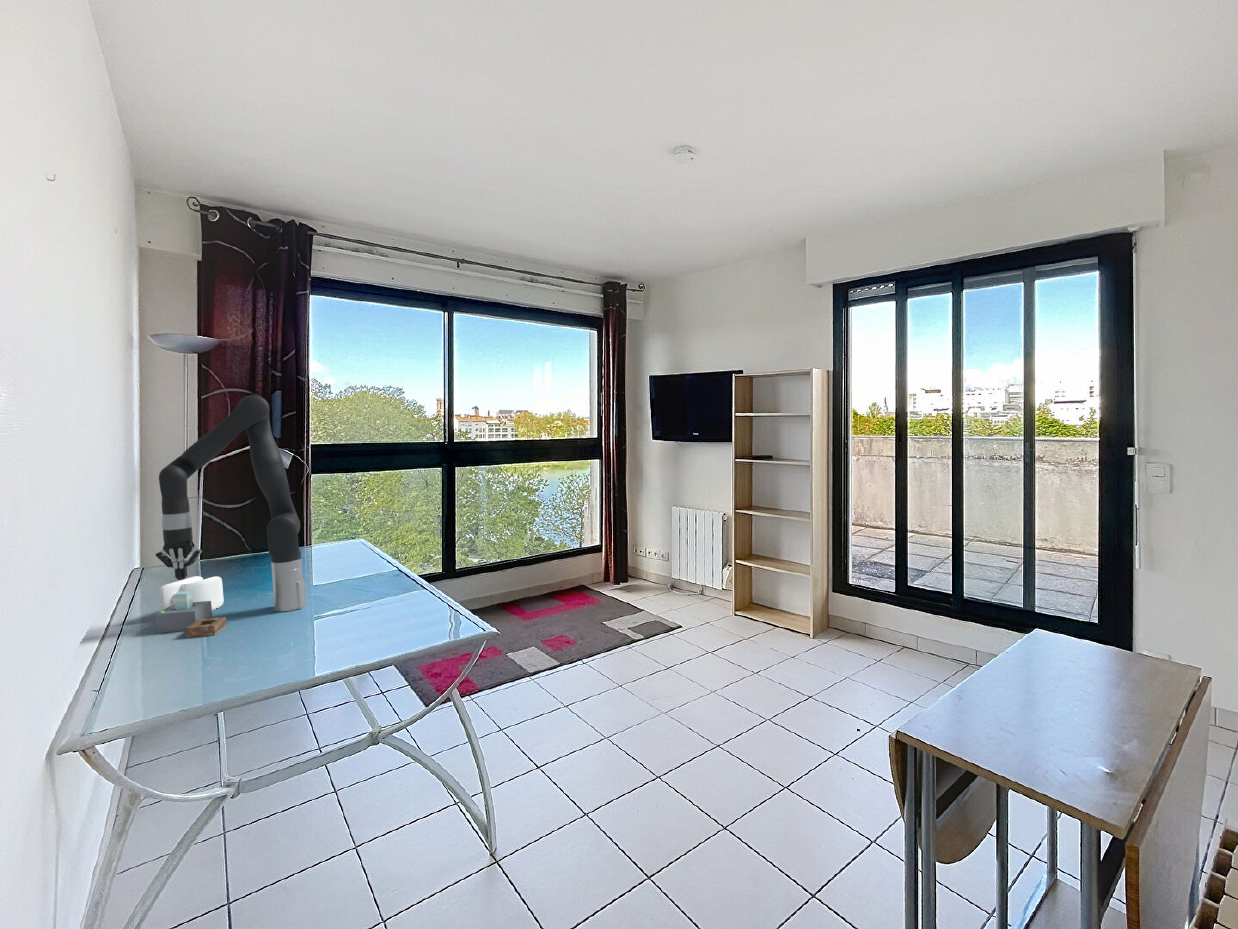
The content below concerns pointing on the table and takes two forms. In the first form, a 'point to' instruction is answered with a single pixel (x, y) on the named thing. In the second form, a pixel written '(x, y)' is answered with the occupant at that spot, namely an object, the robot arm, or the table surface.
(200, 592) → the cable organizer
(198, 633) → the brown wooden square block
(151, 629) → the table surface
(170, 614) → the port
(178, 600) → the pale turquoise box
